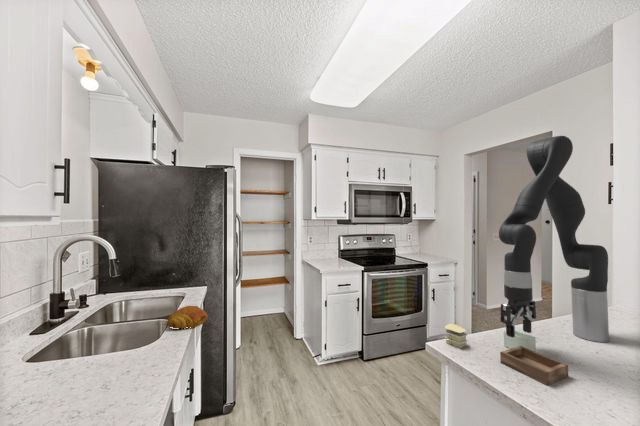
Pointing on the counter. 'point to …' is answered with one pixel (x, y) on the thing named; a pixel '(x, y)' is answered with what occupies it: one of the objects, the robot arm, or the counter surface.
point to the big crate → (534, 365)
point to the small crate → (520, 341)
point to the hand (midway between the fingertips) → (519, 334)
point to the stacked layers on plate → (455, 335)
